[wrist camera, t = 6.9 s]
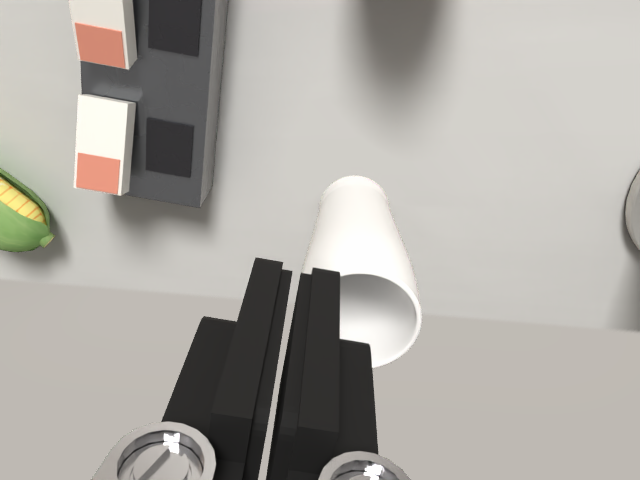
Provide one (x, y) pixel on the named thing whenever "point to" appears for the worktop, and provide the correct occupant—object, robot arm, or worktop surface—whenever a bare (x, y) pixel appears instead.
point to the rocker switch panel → (170, 96)
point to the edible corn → (21, 217)
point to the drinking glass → (367, 268)
